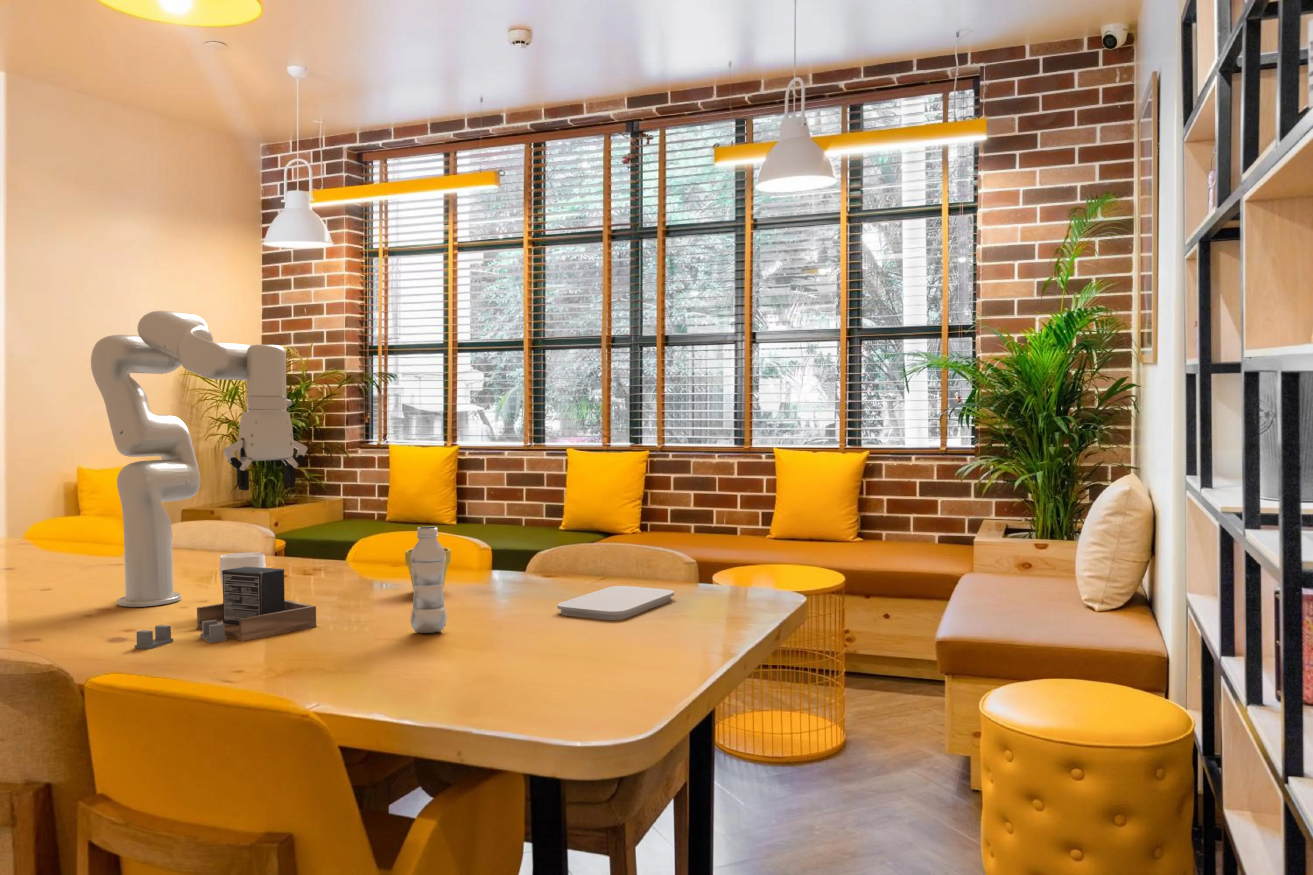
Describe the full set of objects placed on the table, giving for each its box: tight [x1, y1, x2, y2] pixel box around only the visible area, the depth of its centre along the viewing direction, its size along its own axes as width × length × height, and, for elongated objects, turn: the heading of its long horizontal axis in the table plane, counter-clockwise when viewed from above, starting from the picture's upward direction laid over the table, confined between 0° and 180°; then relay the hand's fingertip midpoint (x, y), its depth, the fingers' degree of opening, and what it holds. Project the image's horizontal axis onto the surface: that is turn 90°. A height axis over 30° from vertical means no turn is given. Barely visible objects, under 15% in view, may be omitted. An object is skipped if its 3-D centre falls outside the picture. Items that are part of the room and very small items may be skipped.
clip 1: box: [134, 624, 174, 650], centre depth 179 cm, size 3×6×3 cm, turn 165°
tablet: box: [557, 585, 675, 621], centre depth 209 cm, size 16×26×2 cm, turn 152°
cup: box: [219, 551, 267, 589], centre depth 208 cm, size 9×9×12 cm
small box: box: [222, 567, 286, 624], centre depth 192 cm, size 11×6×10 cm, turn 66°
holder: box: [196, 599, 317, 642], centre depth 193 cm, size 18×15×4 cm
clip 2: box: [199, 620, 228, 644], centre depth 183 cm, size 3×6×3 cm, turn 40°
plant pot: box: [404, 546, 452, 591], centre depth 229 cm, size 10×10×10 cm
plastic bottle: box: [410, 525, 448, 634], centre depth 186 cm, size 6×7×20 cm
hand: (266, 488), depth 202 cm, fingers open, 9 cm apart
